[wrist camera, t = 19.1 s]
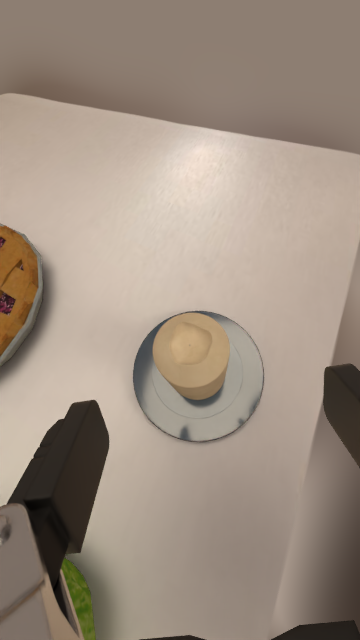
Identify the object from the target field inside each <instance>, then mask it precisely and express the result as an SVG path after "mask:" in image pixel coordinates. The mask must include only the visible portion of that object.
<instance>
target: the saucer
mask: <svg viewBox="0 0 360 640" xmlns="http://www.w3.org/2000/svg"><path fill="white" fill-rule="evenodd" d="M185 313H200V314H204V315H206V316H209V317H211V318H213V319H214V320H215V321H217V322H218V323H219V324H220V325H221V326H222V328H223V329H224V331H225V332H226V334H227V337H228V340H229V344H230V355H229V361H228V366H227V371H226V376H225V380H224V382H223V385H222V386H221V388H220V389H219V390H218V391H217V392H216V393H215V394H214V395H213V396H211V397H209V398H206V399H202V400H193V399H189V398H186V397H184V396H182V395H181V394H179V393H178V392H177V391H176V390H175V389H174V388H173V387H172V385H171V384H170V383H169V382H168V381H167V380H166V379H165V378H164V377H163V376H162V374H161V373H160V372H159V370H158V369H157V367H156V365H155V362H154V358H153V343H154V339H155V337H156V335H157V333H158V331H159V329H160V328H161V327H162V326H163V325H164V324H165V323H166V322H167V321H168V320H170V319H171V318H173V317H175V316H177V315H175V316H172V317H170V318H168V319H166V320H165V321H163V322H162V323H160V324H159V325H158V326H156V327H155V328H154V329H153V330H152V331H151V332H150V333H149V334H148V335H147V337H146V338H145V340H144V341H143V343H142V344H141V346H140V348H139V350H138V353H137V355H136V359H135V363H134V370H133V383H134V390H135V394H136V397H137V400H138V402H139V405H140V407H141V408H142V410H143V412H144V413H145V415H146V416H147V417H148V418H149V420H150V421H151V422H152V423H153V424H154V425H155V426H157V427H158V428H159V429H161V430H162V431H163V432H165V433H167V434H169V435H171V436H173V437H176V438H178V439H182V440H186V441H193V442H204V441H211V440H216V439H219V438H222V437H224V436H227V435H228V434H230V433H232V432H234V431H235V430H237V429H238V428H239V427H241V426H242V425H243V424H244V423H245V422H246V421H247V420H248V419H249V417H250V416H251V415H252V413H253V412H254V410H255V408H256V407H257V405H258V402H259V400H260V397H261V394H262V390H263V383H264V369H263V363H262V359H261V356H260V353H259V351H258V348H257V346H256V344H255V343H254V341H253V340H252V338H251V337H250V336H249V334H248V333H247V332H246V331H245V330H244V329H243V328H242V327H241V326H239V325H238V324H237V323H235V322H234V321H232V320H230V319H229V318H227V317H224V316H222V315H219V314H216V313H212V312H206V311H191V312H185ZM181 314H184V313H181ZM178 315H180V314H178Z"/></svg>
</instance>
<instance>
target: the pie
mask: <svg viewBox="0 0 360 640" xmlns="http://www.w3.org/2000/svg"><path fill="white" fill-rule="evenodd" d="M42 299H43V281H42V265H41V255H40V254H39V253H38V251H37V250H36V249H35V248H34V246H33V245H32V244H31V242H30V241H29V240H28V238H27V237H26V236H25V235H24V234H22V233H20V232H18V231H15V230H13V229H11V228H9V227H7V226H4V225H2V224H0V366H2V365H3V364H4V363H5V362H7V361H8V360H9V359H10V358H12V356H13V355H14V353H15V352H16V351H17V349H18V348H19V347H20V345H21V344H22V342H23V341H24V340H25V338H26V337H27V336H28V334H29V333H30V331H31V330H32V329H33V326H34V323H35V320H36V317H37V314H38V311H39V308H40V305H41V302H42Z"/></svg>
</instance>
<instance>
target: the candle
mask: <svg viewBox="0 0 360 640" xmlns="http://www.w3.org/2000/svg"><path fill="white" fill-rule="evenodd" d="M229 355H230V344H229V340H228V337H227V334H226V332H225V331H224V329H223V328H222V326H221V325H220V324H219V323H218V322H217V321H215V320H214V319H213V318H211V317H209V316H206V315H204V314H200V313H184V314H180V315H177V316H175V317H173V318H171V319H170V320H168V321H167V322H166V323H165V324H164V325H163V326H162V327H161V328H160V329H159V331H158V333H157V335H156V337H155V339H154V343H153V358H154V362H155V365H156V367H157V369H158V370H159V372H160V373H161V374H162V376H163V377H164V378H165V379H166V380H167V381H168V382H169V383H170V384H171V385H172V387H173V388H174V389H175V390H176V391H177V392H178V393H179V394H181V395H182V396H184V397H186V398H189V399H193V400H202V399H206V398H209V397H211V396H213V395H214V394H215V393H216V392H217V391H218V390H219V389H220V388H221V386H222V385H223V382H224V380H225V376H226V371H227V366H228V361H229Z"/></svg>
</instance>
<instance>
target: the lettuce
mask: <svg viewBox="0 0 360 640" xmlns="http://www.w3.org/2000/svg"><path fill="white" fill-rule="evenodd" d="M61 570H62V572H63V574H64V577H65V580H66V584H67V587H68V590H69V593H70V596H71V599H72V602H73V605H74V609H75V612H76V615H77V618H78V621H79V624H80V627H81V630H82V634H83V637H84V640H96V638H95V629H94V621H93V612H92V603H91V595H90V590H89V588H88V586H87V584H86V581H85V579H84V577H83V575H82V574H81V573H80V572H79V571H78V569H77V568H76V567H75V566H74V565H73V564H72V562H70V561H69V560H67V559H66V558H64V560H63V564H62V567H61Z"/></svg>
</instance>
